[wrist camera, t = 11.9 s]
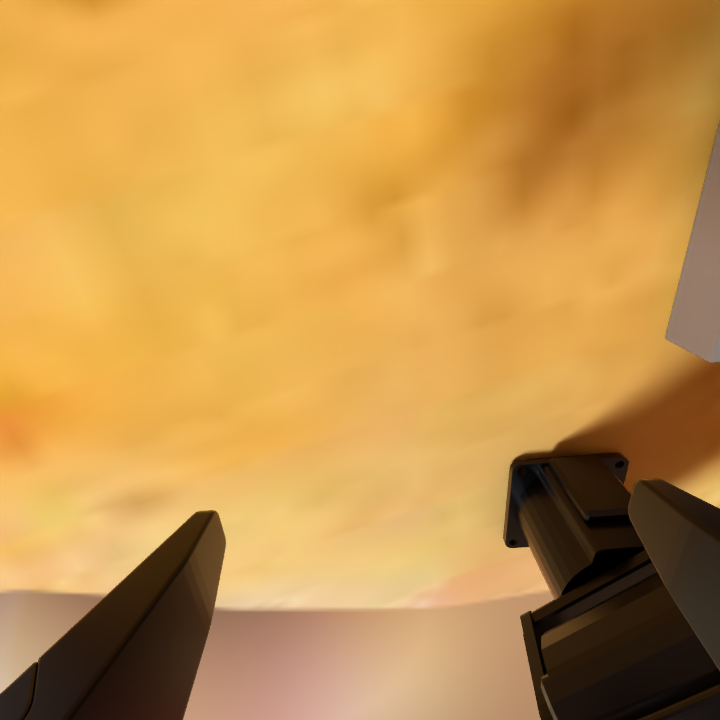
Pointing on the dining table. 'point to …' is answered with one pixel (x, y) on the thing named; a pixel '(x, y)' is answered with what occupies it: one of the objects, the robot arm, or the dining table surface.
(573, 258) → the dining table surface
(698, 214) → the gray rectangular tray
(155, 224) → the dining table surface
